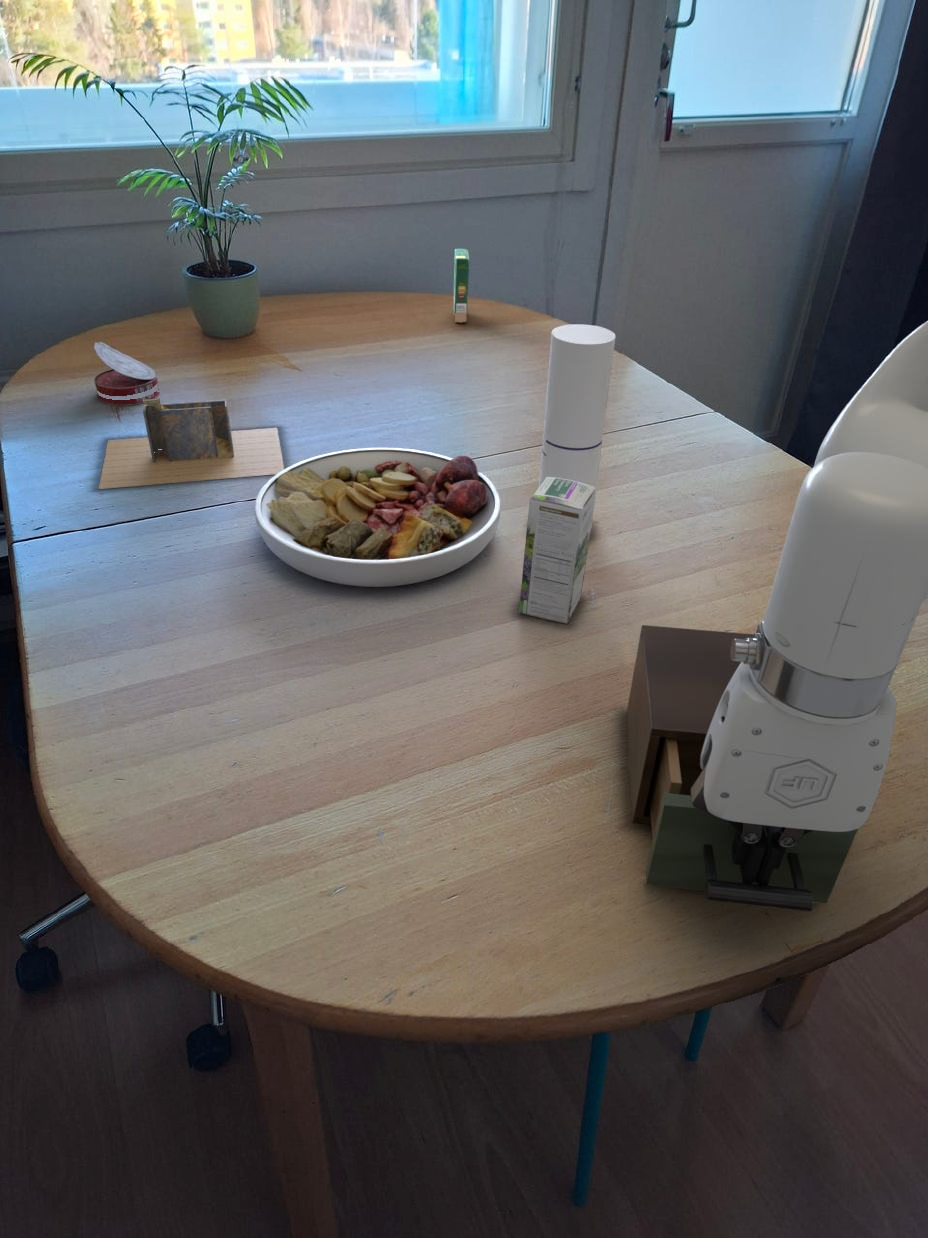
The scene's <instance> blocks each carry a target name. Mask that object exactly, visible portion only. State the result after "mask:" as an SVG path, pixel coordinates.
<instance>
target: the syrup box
mask: <svg viewBox="0 0 928 1238" xmlns="http://www.w3.org/2000/svg"><path fill="white" fill-rule="evenodd" d="M597 490H598V489H597V487H596V488H595V487H593V486H590V485H587V484H584V483H581V482H577V481H573V480H568V479H562V478H555V477H546V479H545V480H544V481H543V483H542V484H541V485H540V487H539V486H538V488H537V490H535V492H534V494H533V495H532V496H531V497H530V499H529V502H528V513H527V524H526V533H525V544H524V554H523V563H522V564H523V566H522V574H521V583H520V585H521V587H520V597H519V606H518V612H519V614H523V615H528V616H532V617H535V618H540V619H545V620H549V621H552V622H558V623H562V624H566V625H567V624H569V622H570V620H571V618H572V616H573V614H574V612H575V610H576V608H577V606H578V604H579V602H580V601H581V598H582V594H583V587H584V580H585V573H586V566H587V559H588V553H589V545H590V538H591V533H592V528H591V524H592V525H593V519H592V517H593V518H594V511H593V509H594V510H595V503H596V495H597V494H596V493H597ZM594 502H595V503H594ZM590 532H591V533H590Z"/></svg>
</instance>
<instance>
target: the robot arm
mask: <svg viewBox="0 0 928 1238" xmlns="http://www.w3.org/2000/svg"><path fill="white" fill-rule="evenodd" d="M926 600H928V320H927V321H925V322H924V323H922V324H921V325H919V326H918V327H916V328H915V329H914V330H913V331H911V333H909V334H908V335H907V336H906V337H904V338H903V339H902V340H901V341H900V342H899V343H898V344H897V345H896V346H895V348H893V349H892V350H891V351H890V353H888V355H887V356H886V357H885V358H884V360H882V362H881V363H880V364H879V366H878V367H877V368H876V369H875V371H874V372H873V373H872V374H871V375H870V376H869V378H868V379H867V380H866V381H865V382H864V384H863V385H862V386H861V387H860V388H859V389H858V390H857V392H855V394H854V395H853V396H852V397H851V399H850V400H849V402H848V403H846V405H845V407H844V408H843V409H842V410H841V412H840V413H839V415H837V418H836V419H835V421H834V422H833V423H832V425H831V426H830V428H829V429H828V431H827V433H826V435H825V436H824V438H823V439H822V442H821V444H820V447H819V448H818V452H817V454H816V457H815V461H814V465H813V467H811V468H810V470H809V471H808V472H807V474H806V475H805V478H804V479H803V481H802V484H801V487H800V490H799V491H798V495H797V498H796V502H795V505H794V509H793V512H792V516H791V520H790V523H789V527H788V529H787V534H786V538H785V541H784V545H783V548H782V551H781V555H780V559H779V562H778V567H777V569H776V573H775V577H774V580H773V583H772V588H771V591H770V594H769V597H768V602H767V606H766V609H765V612H764V616H763V620H762V621H759V622H758V624H757V628H756V632H754V633H753V634H754V635H753V636H752V638H747V637H746V639H733V640H732V643H731V648H730V657H731V660H732V661H740V662H741V663H740V665H739V667H738V668H737V670H736V671H735V673H734V675H733V676H732V678H731V680H730V682H729V683H728V685H727V687H726V689H725V691H724V693H723V695H722V697H721V700H720V702H719V704H718V706H717V709H716V711H715V714H714V716H713V719H712V722H711V724H710V727H709V730H708V733H707V735H706V738H705V742H704V745H703V749H702V753H701V758H700V767H701V769H702V770H703V771H702V772H701V774H700V775H699V777H698V779H697V780H696V782H695V783H694V785H693V786H692V788H691V790H690V791H691V798H692V804H693V806H694V807H695V808H697V809H701V810H704V811H708V812H710V813H711V814H713V815H714V816H717V817H719V818H721V819H725V820H728V821H729V822H730V823H731V824H732V825H733V826H734V827H735V828H736V829H737V831H736V835H735V838H734V841H733V844H732V860H733V864H735V865H740V870H741V875H742V881H743V883H748V884H752V882H753V883H754V882H755V881H756V883H758V884H759V885H768V883H769V880H770V877H771V874H772V872H773V869H779V867H780V864H781V861H782V859H783V856H784V853H785V851H786V848H790V847H793V846H795V845H796V844H797V842H798V841H799V839H800V838H801V836H802V835H804V834H806V833H809V832H811V831H813V830H819V831H832V832H846V831H852V830H855V829H858V830H859V829H860V828H861V827H863V826H864V825H865V824H866V822H867V821H868V819H869V817H870V815H871V813H872V811H873V809H874V806H875V803H876V800H877V797H878V794H879V792H880V789H881V786H882V782H883V779H884V775H885V772H886V768H887V764H888V760H889V755H890V751H891V745H892V741H893V735H894V731H895V724H896V715H897V700H896V697H895V696H894V694H893V692H892V691H891V689H890V684H891V682H892V678H893V676H894V674H895V672H896V669H897V666H898V664H899V662H900V660H901V657H902V655H903V652H904V649H905V647H906V645H907V642H908V640H909V637H910V634H911V632H912V630H913V627H914V625H915V623H916V620H917V617H918V614H919V612H920V609H921V607H922V605H923V603H924V602H925V601H926Z"/></svg>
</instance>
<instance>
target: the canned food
mask: <svg viewBox="0 0 928 1238" xmlns="http://www.w3.org/2000/svg"><path fill="white" fill-rule="evenodd" d="M93 349H94V351H95V354H96V355H97V357H98V359H100V361H102V363H104V364H105V365H106V366H107V367H109V368H111V369H108V370H105V371H103V372H100V373H98V374H97V375H96V376H95V377H94V378H93V379H94V380H93V381H94V386H95V390H96V389H97V390H96V394H97V399H98V401H100V402H101V403H103V404H105V405H109V406H117V407H125V406H126V407H128V406H137V405H141V404H143V400H150V399H157V398H159V395H160V393H161V391H160V392H157V391H156V392H154V393H153V394H151V395H148V396H145V397H142V398H137V399H130V400H112V399H106V398H103V397H101V396H99V395H98V393H97V391H99V392H100V393H102V394H105V395H109V396H127V395H133V394H138V393H142V392H145V391H147V390H150V389H152V388H153V387H154V386H155V385H156V384H157V383H158V384H159V379H158V374H157V372H156V371H155V370H153V369H152V368H151V367H150V366H149V365H147V364H145V363H143V362H142V361H140V360H138V359H136V358H133V357H132V356H130V355H127V354H124V353H123V352H121V351H119V350H117V349H115V348H112V346H109V345H108V344H106V343H104V342H102V341H98V342H94V347H93ZM142 399H143V400H142Z"/></svg>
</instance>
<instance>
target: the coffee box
mask: <svg viewBox="0 0 928 1238" xmlns="http://www.w3.org/2000/svg"><path fill="white" fill-rule="evenodd" d="M453 258H454V264H453V266H454V267H453V269H454V270H453V271H454V272H453V313H454V312H455V313H467V314H468V303H469V301H468V299H469V274H470V273H469V272H470V255H469V250H468V249H467V248H454V257H453Z"/></svg>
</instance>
